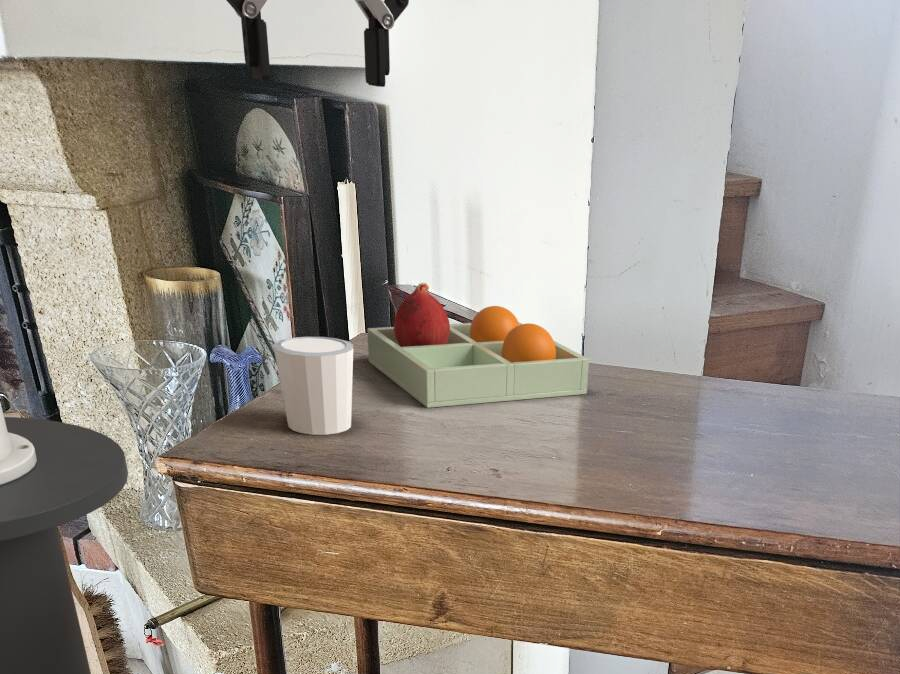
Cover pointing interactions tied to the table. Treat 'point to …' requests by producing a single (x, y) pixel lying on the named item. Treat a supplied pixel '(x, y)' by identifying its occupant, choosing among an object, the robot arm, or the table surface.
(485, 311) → the clementine
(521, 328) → the clementine
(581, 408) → the table surface
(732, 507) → the table surface
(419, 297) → the onion
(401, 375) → the tray
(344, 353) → the white cup
